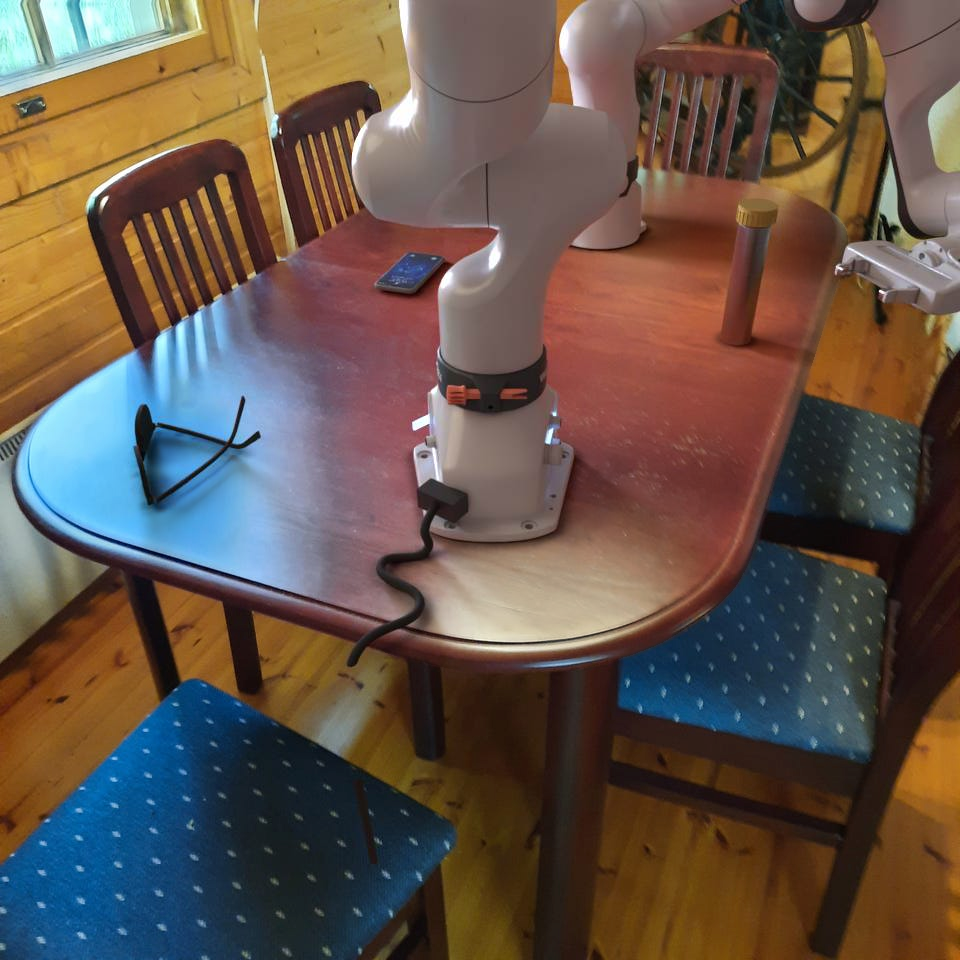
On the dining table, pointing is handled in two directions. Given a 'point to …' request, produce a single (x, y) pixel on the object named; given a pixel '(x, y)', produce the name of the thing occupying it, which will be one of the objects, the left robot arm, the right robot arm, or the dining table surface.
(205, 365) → the dining table surface
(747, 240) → the grey metal cylinder
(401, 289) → the smartphone
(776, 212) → the lid
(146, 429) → the sunglasses
